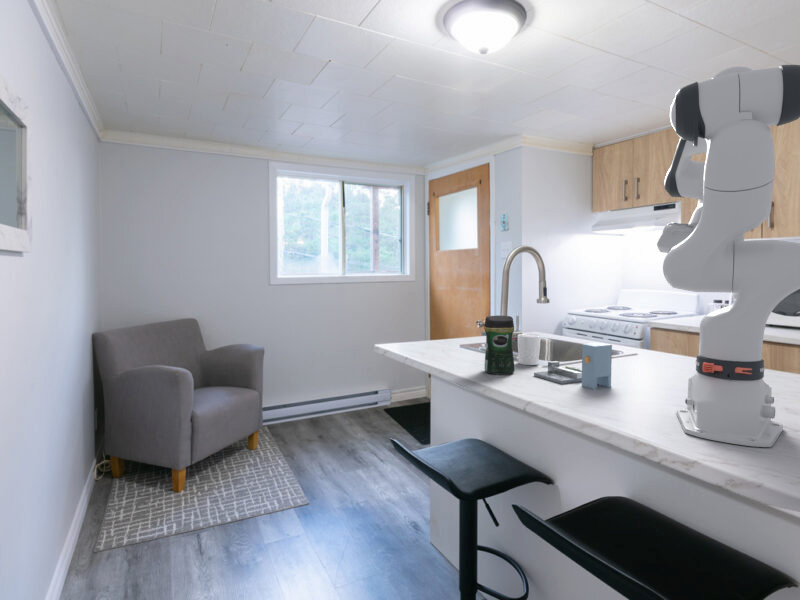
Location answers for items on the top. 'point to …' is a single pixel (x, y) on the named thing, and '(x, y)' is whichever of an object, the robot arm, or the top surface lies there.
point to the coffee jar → (499, 344)
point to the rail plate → (556, 377)
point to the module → (596, 365)
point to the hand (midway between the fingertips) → (690, 269)
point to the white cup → (529, 349)
